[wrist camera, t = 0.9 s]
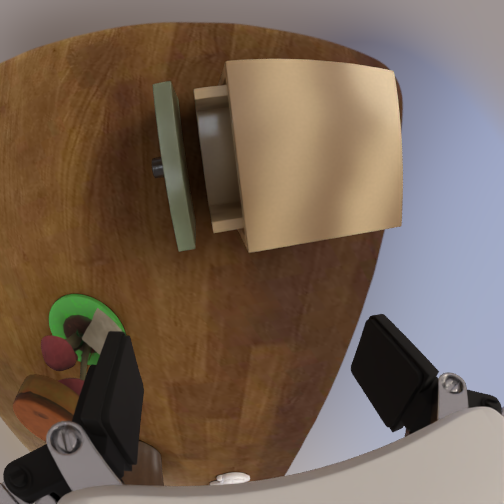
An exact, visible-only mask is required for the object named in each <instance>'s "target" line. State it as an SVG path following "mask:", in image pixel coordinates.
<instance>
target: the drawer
mask: <svg viewBox="0 0 504 504" xmlns="http://www.w3.org/2000/svg"><path fill="white" fill-rule="evenodd" d="M153 94H154V104H155V113H156V121H157V130H158V137H159V145H160V152H161V157H157V158H153V159H152V171H153V175H154V177H155V178H161V177H164V178H165V184H166V190H167V195H168V201H169V206H170V212H171V217H172V222H173V227H174V232H175V237H176V242H177V246H178V251H185V250H191V249H195V240H196V220H195V214H194V208H193V202H192V196H191V190H190V183H189V177H188V170H187V163H186V156H185V149H184V142H183V134H182V126H181V118H180V110H179V101H178V98H177V95H176V93H175V90H174V88H173V86H172V83H171V81H167V82H162V83H157V84H153ZM194 99H195V109H196V117H197V125H198V133H199V141H200V148H201V156H202V163H203V170H204V177H205V184H206V191H207V198H208V204H209V211H210V217H211V222H212V228H213V233H217V232H223V231H229V230H235V229H241V228H244V224H243V216H242V208H241V200H240V192H239V184H238V176H237V168H236V159H235V151H234V143H233V135H232V127H231V118H230V110H229V102H228V93H227V85H220V86H212V87H204V88H197V89H194Z"/></svg>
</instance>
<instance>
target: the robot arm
mask: <svg viewBox="0 0 504 504" xmlns="http://www.w3.org/2000/svg"><path fill="white" fill-rule="evenodd" d="M351 372H352V374H353V375H354V377H355V379H356V380H357V382H358V383H359V385H360V386H361V388H362V389H363V391H364V393H365V394H366V396H367V397H368V399H369V400H370V402H371V403H372V405H373V406H374V408H375V410H376V411H377V413H378V414H379V416H380V418H381V419H382V420H383V422H384V423H385V425H386V426H387V427H390V429H391V431H392V432H394V431H397V430H399V429H401V428H403V426H405V427H406V433H405V437H404V438H402V439H399V440H397V441H395V442H393V443H390V444H388V445H386V446H383V447H381V448H378V449H376V450H373V451H371V452H368V453H365V454H363V455H360V456H357V457H354V458H351V459H348V460H345V461H342V462H339V463H336V464H332V465H329V466H325V467H322V468H318V469H314V470H310V471H306V472H302V473H298V474H293V475H288V476H283V477H277V478H272V479H266V480H259V481H252V482H244V483H235V484H224V485H206V486H147V485H127V484H126V483H125V482H124V481H123V480H122V477H124V471H132V465H136V464H137V458H138V443H139V431H140V421H141V411H142V403H143V394H144V388H143V383H142V379H141V376H140V373H139V369H138V365H137V362H136V358H135V354H134V350H133V346H132V342H131V338H130V336H126V335H125V333H124V332H123V331H109V332H108V334H107V337H106V340H105V342H104V345H103V348H102V350H101V353H100V356H99V359H98V362H97V365H94V364H92V365H91V366H90V367H89V369H88V372H87V375H86V378H85V381H84V383H83V386H82V389H81V392H80V396H79V399H78V402H77V405H76V408H75V412H74V415H73V419H72V421H60V422H57V423H56V424H54V425H52V426H51V428H50V429H49V430H48V433H47V435H46V442H47V444H46V445H44V446H42V447H40V448H38V449H36V450H34V451H32V452H30V453H28V454H26V455H24V456H23V457H20V458H18V459H16V460H14V461H12V462H11V463H9V464H8V465H7V466H6V468H5V470H4V474H3V475H4V482H3V483H2V484H1V483H0V504H504V407H503V408H501V404H500V402H499V401H498V399H497V398H496V397H494V396H491V395H488V394H483V393H479V392H475V391H470V390H467V387H466V383H465V382H464V380H463V379H462V378H461V377H460V376H458V375H456V374H454V373H443V374H442V375H441V376H440V377H439V378H437V377H436V376H437V374H438V372H439V371H438V370H437V369H436V368H435V367H434V366H433V365H432V363H430V361H429V360H428V359H427V358H426V357H425V356H424V355H423V354H422V353H421V352H420V351H419V350H418V349H417V348H416V347H415V345H414V344H413V343H412V342H411V341H410V340H409V339H408V338H407V337H406V336H405V335H404V334H403V333H402V332H401V331H400V330H399V329H398V328H397V327H396V326H395V325H394V324H393V323H392V322H391V321H390V320H389V319H388V318H387V317H386V316H385V315H384V314H379V315H373V316H370V317H369V319H368V320H367V321H366V323H365V326H364V329H363V332H362V336H361V339H360V342H359V345H358V348H357V351H356V353H355V356H354V359H353V362H352V365H351Z"/></svg>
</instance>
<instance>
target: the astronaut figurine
mask: <svg viewBox="0 0 504 504" xmlns="http://www.w3.org/2000/svg"><path fill="white" fill-rule="evenodd" d="M249 480H250V476H249V475H247V474H245V473H240V472H232V473H226V474H223V475H218V476H217V481H213V482H210V485H224V484H235V483H244V482H246V481H249Z"/></svg>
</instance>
